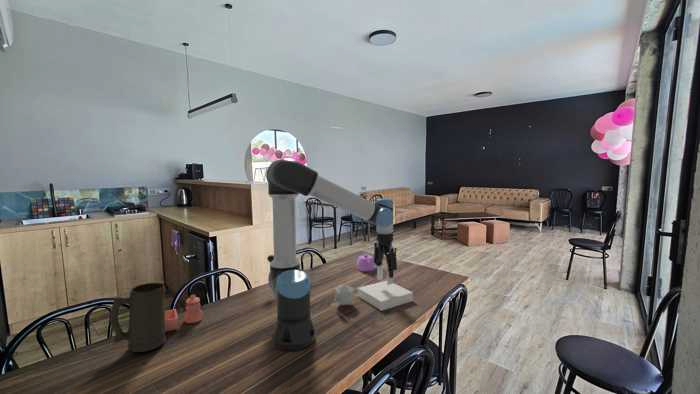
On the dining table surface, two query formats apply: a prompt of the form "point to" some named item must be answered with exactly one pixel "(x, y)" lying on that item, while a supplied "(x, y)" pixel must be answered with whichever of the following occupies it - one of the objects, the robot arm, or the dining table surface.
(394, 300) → the plinth
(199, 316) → the pottery
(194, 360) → the dining table surface
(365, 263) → the teapot
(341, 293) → the die
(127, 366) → the dining table surface
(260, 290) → the dining table surface
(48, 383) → the dining table surface
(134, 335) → the beer stein
